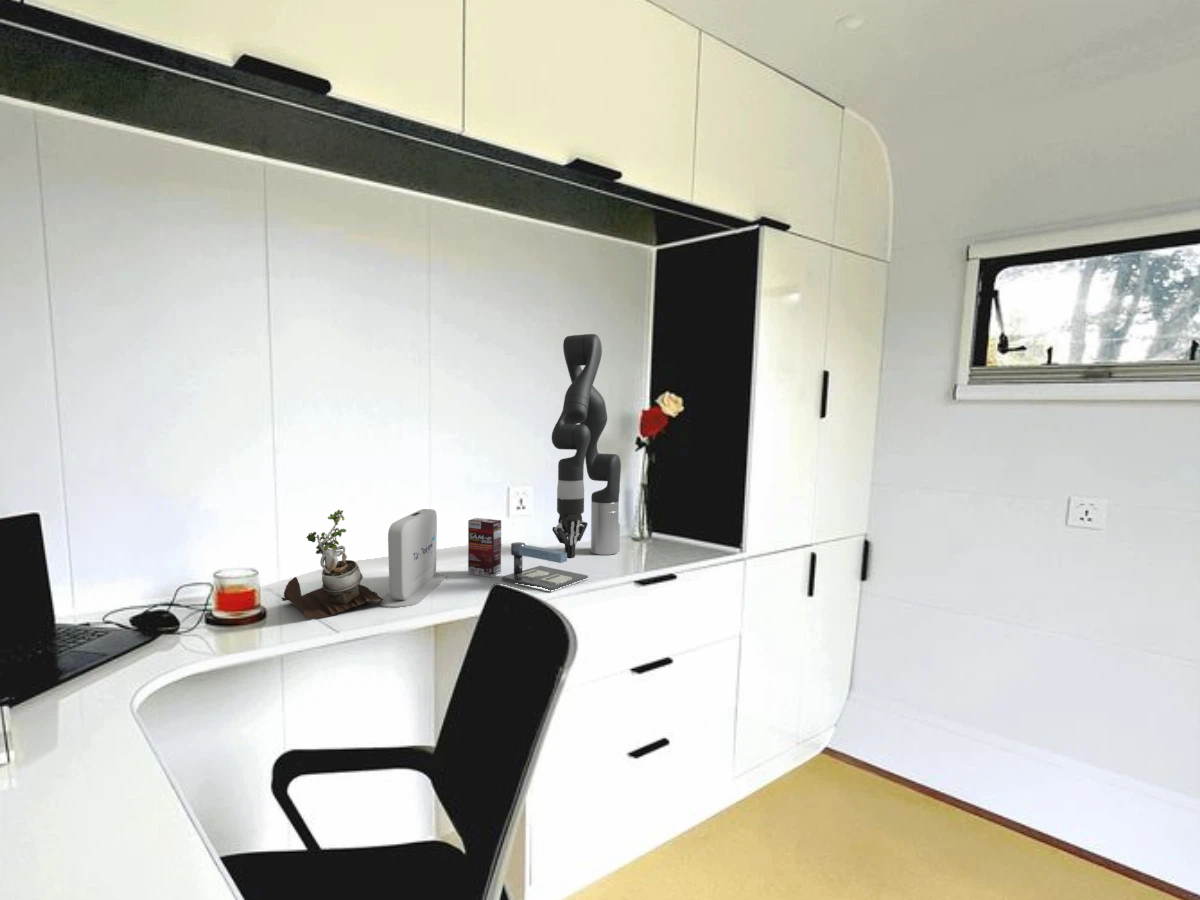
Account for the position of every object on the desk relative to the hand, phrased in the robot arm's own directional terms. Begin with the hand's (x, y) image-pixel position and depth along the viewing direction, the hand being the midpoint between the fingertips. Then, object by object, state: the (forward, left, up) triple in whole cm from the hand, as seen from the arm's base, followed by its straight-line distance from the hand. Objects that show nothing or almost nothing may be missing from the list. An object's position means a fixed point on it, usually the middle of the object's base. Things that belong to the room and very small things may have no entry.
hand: (570, 557), depth 176 cm
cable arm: (+6, -7, 0) cm, 9 cm away
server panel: (+4, -6, -7) cm, 10 cm away
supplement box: (+10, -24, -7) cm, 27 cm away
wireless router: (+32, -26, -7) cm, 42 cm away
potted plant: (+53, -31, -7) cm, 62 cm away
